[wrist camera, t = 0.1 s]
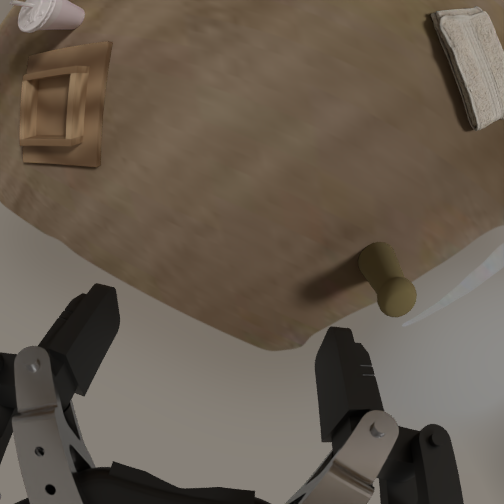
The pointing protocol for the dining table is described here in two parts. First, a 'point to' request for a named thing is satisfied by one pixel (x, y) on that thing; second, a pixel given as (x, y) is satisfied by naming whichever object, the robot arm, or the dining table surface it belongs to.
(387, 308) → the cork
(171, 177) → the dining table surface
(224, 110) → the dining table surface
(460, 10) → the washcloth
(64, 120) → the open wooden box
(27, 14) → the smoothie
